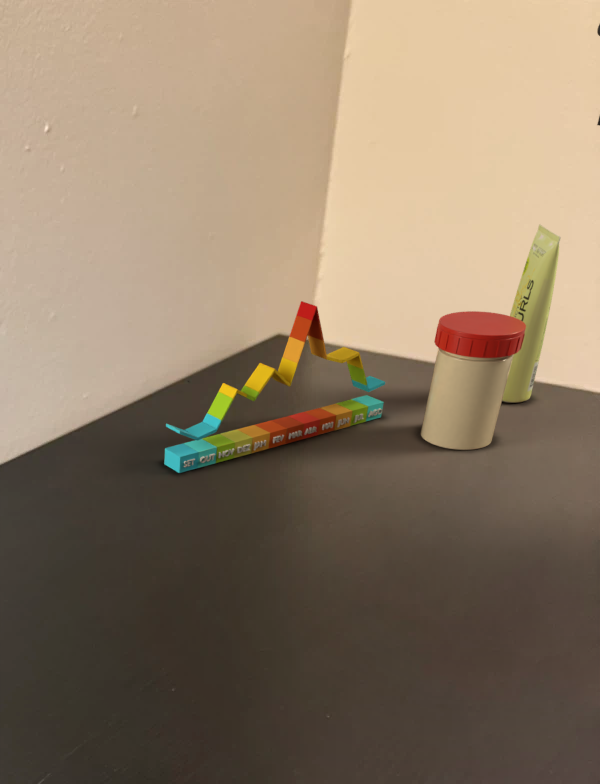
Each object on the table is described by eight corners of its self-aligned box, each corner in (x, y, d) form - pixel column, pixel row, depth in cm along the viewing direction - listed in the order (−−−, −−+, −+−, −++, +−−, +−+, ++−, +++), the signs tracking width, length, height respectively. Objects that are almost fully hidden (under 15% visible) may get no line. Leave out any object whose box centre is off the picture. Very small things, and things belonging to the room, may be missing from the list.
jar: (506, 444, 114) (534, 338, 106) (446, 454, 112) (470, 346, 105) (464, 420, 120) (488, 318, 112) (407, 429, 118) (427, 325, 111)
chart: (180, 473, 109) (187, 335, 100) (164, 464, 112) (169, 327, 102) (382, 418, 121) (405, 289, 112) (364, 410, 123) (385, 283, 114)
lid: (464, 362, 105) (469, 339, 103) (418, 337, 112) (422, 315, 110) (538, 352, 107) (544, 330, 105) (488, 329, 114) (493, 307, 112)
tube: (476, 395, 126) (515, 229, 114) (499, 386, 129) (540, 222, 117) (515, 407, 123) (560, 236, 111) (538, 397, 125) (585, 230, 113)
